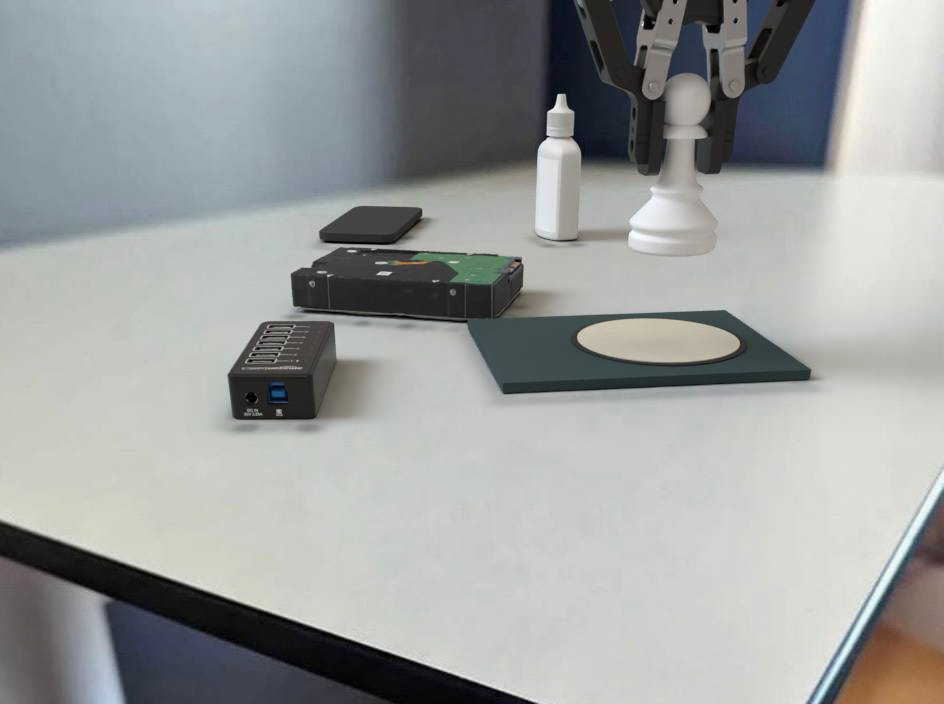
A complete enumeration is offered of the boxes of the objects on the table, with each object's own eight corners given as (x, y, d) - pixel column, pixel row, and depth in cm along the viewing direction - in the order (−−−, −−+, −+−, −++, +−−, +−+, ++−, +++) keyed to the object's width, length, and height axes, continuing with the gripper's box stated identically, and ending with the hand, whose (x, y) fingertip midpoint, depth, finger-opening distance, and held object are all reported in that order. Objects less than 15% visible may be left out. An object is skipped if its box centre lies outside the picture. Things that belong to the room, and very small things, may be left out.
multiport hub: (337, 358, 63) (335, 320, 62) (315, 418, 53) (312, 375, 52) (265, 358, 63) (261, 320, 62) (230, 418, 53) (225, 375, 52)
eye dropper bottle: (529, 240, 96) (533, 96, 89) (536, 230, 100) (541, 92, 94) (576, 242, 95) (583, 96, 89) (581, 231, 100) (588, 92, 93)
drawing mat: (724, 318, 71) (725, 307, 71) (810, 379, 59) (812, 366, 59) (467, 328, 69) (467, 316, 69) (502, 393, 57) (502, 380, 57)
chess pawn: (726, 256, 58) (747, 74, 53) (638, 258, 57) (651, 76, 53) (702, 239, 62) (719, 70, 57) (619, 241, 62) (631, 71, 57)
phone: (314, 232, 94) (355, 205, 107) (315, 242, 95) (355, 213, 108) (393, 235, 93) (425, 207, 106) (393, 244, 94) (425, 215, 107)
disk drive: (291, 314, 73) (496, 324, 70) (287, 273, 71) (496, 281, 68) (340, 282, 81) (524, 289, 78) (337, 245, 80) (525, 251, 77)
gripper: (589, -242, 45) (571, 187, 53) (893, -237, 46) (826, 179, 55) (552, -210, 51) (542, 168, 60) (821, -206, 52) (771, 161, 61)
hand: (678, 171), depth 57 cm, fingers closed on chess pawn, 3 cm apart
